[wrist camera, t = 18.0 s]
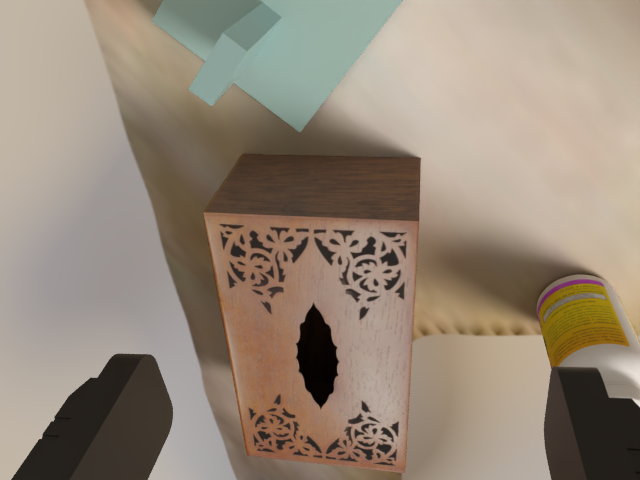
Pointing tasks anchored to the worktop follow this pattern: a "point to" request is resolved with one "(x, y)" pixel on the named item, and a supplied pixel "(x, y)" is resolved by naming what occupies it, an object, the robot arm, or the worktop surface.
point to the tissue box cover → (319, 303)
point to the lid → (274, 47)
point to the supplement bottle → (591, 332)
